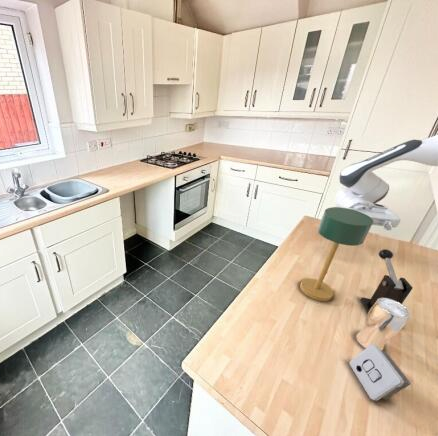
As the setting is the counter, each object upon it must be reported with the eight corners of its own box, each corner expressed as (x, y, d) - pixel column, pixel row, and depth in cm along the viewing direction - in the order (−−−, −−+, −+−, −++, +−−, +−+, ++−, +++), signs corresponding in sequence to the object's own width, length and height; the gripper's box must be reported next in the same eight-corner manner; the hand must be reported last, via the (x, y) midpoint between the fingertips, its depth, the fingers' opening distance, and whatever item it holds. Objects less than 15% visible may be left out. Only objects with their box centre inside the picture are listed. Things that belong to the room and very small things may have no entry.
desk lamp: (342, 296, 87) (382, 219, 72) (321, 308, 82) (358, 229, 67) (310, 275, 96) (339, 204, 81) (289, 285, 92) (316, 211, 77)
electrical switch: (347, 362, 66) (365, 342, 62) (367, 365, 66) (386, 345, 61) (371, 401, 58) (393, 381, 53) (393, 405, 58) (418, 385, 53)
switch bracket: (360, 299, 85) (377, 269, 79) (384, 304, 83) (404, 273, 77) (372, 320, 78) (392, 289, 71) (399, 326, 76) (422, 294, 69)
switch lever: (375, 251, 83) (381, 246, 81) (387, 253, 83) (393, 248, 80) (386, 290, 76) (393, 286, 73) (400, 292, 75) (407, 288, 72)
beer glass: (361, 351, 69) (385, 315, 62) (349, 330, 75) (370, 295, 68) (390, 356, 67) (418, 320, 60) (376, 334, 73) (400, 299, 66)
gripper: (331, 200, 102) (343, 215, 90) (391, 206, 96) (412, 222, 85) (326, 213, 105) (337, 229, 93) (383, 220, 99) (403, 238, 88)
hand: (373, 226), depth 89 cm, fingers open, 8 cm apart
